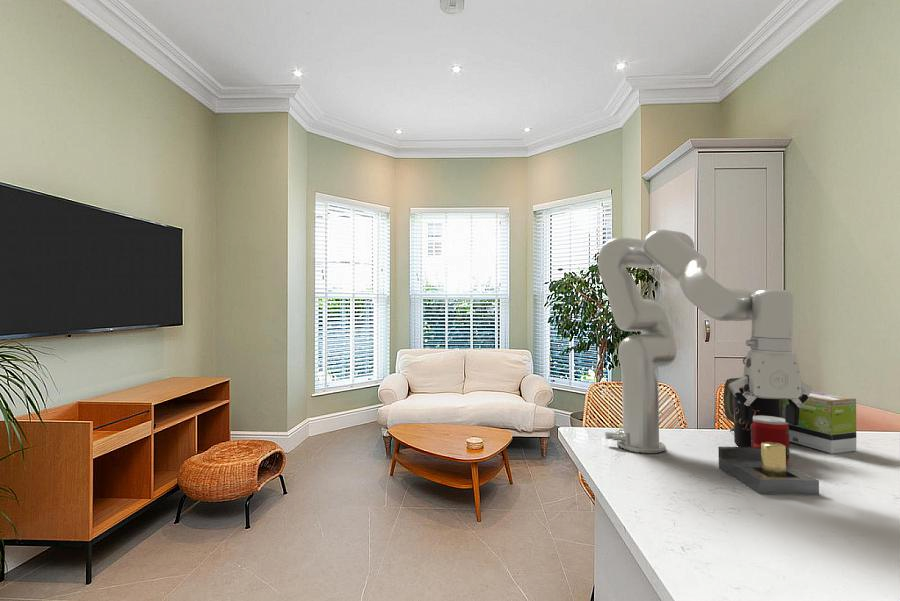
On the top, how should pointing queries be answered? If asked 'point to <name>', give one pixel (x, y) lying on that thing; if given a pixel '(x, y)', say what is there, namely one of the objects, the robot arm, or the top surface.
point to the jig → (749, 472)
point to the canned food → (770, 432)
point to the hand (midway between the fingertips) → (769, 423)
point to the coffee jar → (759, 409)
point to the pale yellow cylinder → (773, 459)
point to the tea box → (825, 423)
